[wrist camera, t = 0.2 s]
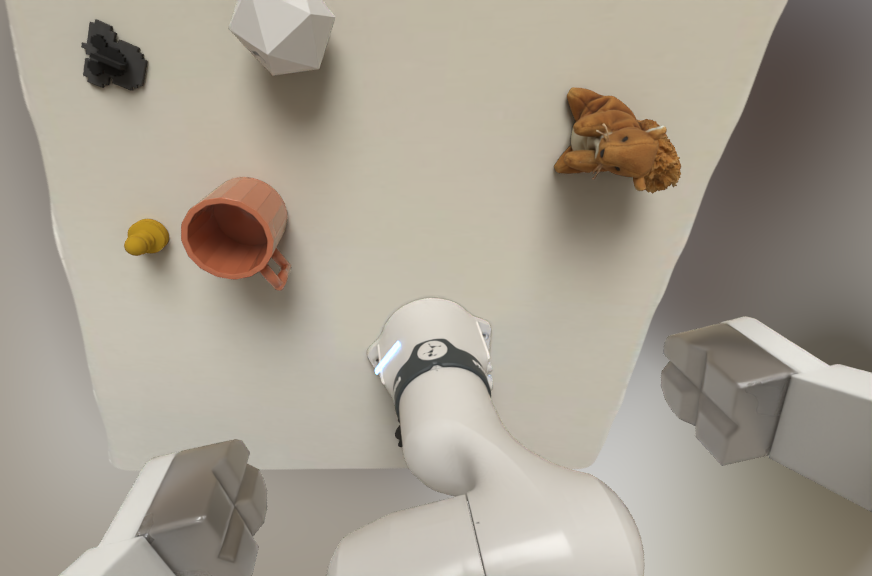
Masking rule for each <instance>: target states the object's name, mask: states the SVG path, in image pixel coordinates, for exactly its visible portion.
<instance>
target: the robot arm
mask: <svg viewBox="0 0 872 576" xmlns="http://www.w3.org/2000/svg"><path fill="white" fill-rule="evenodd" d="M482 334H484V335H482ZM490 337H491V327H490V323H489V322H488V321H486V320H484V319H481V318H478V317H475V316H472V315H471V314H470V313H468V312H467V311H466V310H465V309H464V308H463V307H461V306H460V305H458V304H456V303H454V302H452V301H449V300H446V299H441V298H425V299H420V300H416V301H413V302H411V303H408V304H406V305H404V306H403V307H401V308H400V309H398V310H397V311H396V312H395V313H394V314H393V315H392V316H391V317H390V318H389V319H388V321H387V322H386V324H385V326H384V328H383V331H382V333H381V335H380V337H379V338H378V339H377V340H376V341H375V342H374V343H373V344H372V345H371V346H370V347H369V348H368V350H367V356H368V359H369V361H370V362H371V364H372V366H373V367H374V369H375V374H378V376H379V377H380V379H381V381H382V384H384V386H385V388H386V389H387V391H388V393H389V394H390V396H391V398H392V399H393V401H394V406H395V410H396V414H397V416H398V421H399V423H400V425H399V427H398V428H397V430H396V432H395V436H396V438H397V439H399V443H398V446H399V447H403V455H404V459H405V462H406V464H407V466H408V468H409V469H410V471H411V472H412V473H413V475H414V476H416V477H417V478H418V479H419V480H420V481H421V482H422V483H424V484H425V485H426V486H428V487H429V488H431V489H433V490H435V491H437V492H440V493H444V494H447V495H451V496H455V497H452V498H448V499H444V500H440V501H436V502H432V503H428V504H424V505H420V506H416V507H412V508H408V509H404V510H400V511H396V512H393V513H390V514H388V515H386V516H384V517H382V518H380V519H378V520H375V521H373V522H371V523H369V524H367V525H365V526H363V527H361V528H359V529H357V530H355V531H353V532H351V533H350V534H348V535H346V536H345V537H344V538H343V539H342V540H341V542H340V544H339V545H338V547H337V548H336V550H335V552H334V554H333V556H332V559H331V562H330V564H329V567H328V570H327V574H326V576H484V574H485V576H644V551H643V545H642V541H641V537H640V534H639V531H638V528H637V526H636V523H635V521H634V519H633V517H632V515H631V514H630V512H629V510H628V508H627V507H626V505H625V504H624V503H623V501H622V500H621V499H620V498H619V497H618V495H617V494H616V493H615V492H614V491H613V490H612V489H611V488H609V487H608V486H607V485H606V484H605V483H603V482H602V481H601V480H599V479H598V478H596V477H594V476H593V475H591V474H588V473H584V472H579V471H575V470H572V469H568V468H565V467H562V466H560V465H557V464H555V463H552V462H550V461H548V460H546V459H544V458H542V457H540V456H538V455H537V454H535V453H533V452H532V451H530V450H529V449H527V448H526V447H525V446H523V445H522V444H521V443H519V442H518V441H517V440H516V439H515V438H514V437H513V436H512V435H511V434H510V433H509V432H508V431H507V430H506V428H505V427H504V425H503V423H502V421H501V419H500V417H499V415H498V413H497V411H496V409H495V407H494V405H493V403H492V400H491V390H493V381H492V377H491V375H487V372H491V371H492V366H491V363H490V362H488V360H489V359H490V355H489V348H490ZM663 354H664V355H665V356H666V357H667V358H668V359H669V360H670V361H669V362H668V364H667V365H666V366H665V368H664V369H663V370H662V373H661V388H662V391H663V394H664V397H665V400H666V402H667V403H668V405H669V407H670V408H671V410H672V411H673V412H674V413H675V414H676V416H677V417H678V418H679V419H681V420H683V421H685V422H688V423H690V424H692V425H694V426H696V428H695V429H696V438H697V439H698V440H699V441H700V442H701V443H702V445H703V446H704V447H705V448H706V449H707V450H708V451H709V452H710V453H711V454H712V455H713V457H714V458H715V459H716V460H717V461H718V462H719V463H720V464H721V465H722V466H723V465H727V464H732V463H736V462H741V461H746V460H750V459H755V458H759V457H764V456H768V455H769V458H770V459H772V460H774V461H776V462H777V463H779V464H782V465H783V466H785V467H787V468H789V469H791V470H793V471H795V472H796V473H798V474H800V475H802V476H804V477H806V478H808V479H810V480H812V481H814V482H816V483H817V484H819V485H821V486H823V487H825V488H827V489H829V490H831V491H833V492H835V493H836V494H838V495H840V496H842V497H844V498H846V499H848V500H850V501H852V502H853V503H856V504H857V505H859V506H861V507H863V508H865V509H867V510H869V511H871V512H872V373H870V372H866V371H863V370H859V369H855V368H851V367H847V366H844V365H840V364H836V365H832V366H829V365H827V364H826V363H824V362H822V361H821V360H819V359H818V358H816V357H814V356H813V355H811V354H810V353H808V352H807V351H805V350H804V349H802V348H800V347H799V346H797V345H796V344H794V343H792V342H791V341H789V340H788V339H786V338H785V337H783V336H781V335H780V334H778V333H777V332H775V331H773V330H772V329H770V328H769V327H767V326H766V325H764V324H762V323H761V322H759V321H758V320H756V319H754V318H750V317H745V316H744V317H740V318H736V319H733V320H729V321H725V322H721V323H719V324H715V325H711V326H707V327H703V328H699V329H694V330H691V331H686V332H682V333H678V334H675V335H670V336H668V337H667V339H666V341H665V343H664V350H663ZM378 358H379V360H376V359H378ZM249 454H250V452H249V451H248V449H247V447H246V446H245V444H244V443H243V441H242V440H237V439H234V440H230V441H225V442H220V443H216V444H211V445H206V446H202V447H197V448H192V449H188V450H183V451H181V452H177V453H172V454H167V455H162V456H158V457H154V458H152V459H151V460H149V461H148V462H147V463H145V465H144V466H143V468H142V470H141V472H140V474H139V475H138V477H137V479H136V481H135V483H134V484H133V486H132V488H131V490H130V491H129V493H128V495H127V497H126V498H125V500H124V502H123V504H122V505H121V508H120V509H119V511H118V513H117V514H116V516H115V518H114V520H113V522H112V523H111V525H110V527H109V529H108V530H107V532H106V534H105V536H104V538H103V539H102V541H101V543H100V544H99V546H98V547H95V548H91V549H88V550H87V551H86V552H85V553H83V554H82V555H81V556H80V557H79V558H78V559H77V560H76V561H74V562H73V563H72V564H71V565H70V566H69V567H68V568H67V569H66V570H65V571H63V572H62V573H61V574H60V575H59V576H252V574H253V570H254V566H255V561H256V557H257V553H258V548H259V546H258V545H257V543H256V541H255V540H254V538H253V536H254V535H255V533H256V532H257V531H258V530H259V528H260V527H261V526H262V524H263V523H264V520H265V516H266V511H267V489H266V485H265V481H264V478H263V476H262V474H261V472H260V470H259V469H257V468H255V467H253V466H251V465H249V464H247V461H248V458H249ZM467 501H468V504H469V508H470V512H469V508H468V504H467ZM470 513H471V516H470ZM471 517H472V521H471ZM472 522H473V525H472ZM473 526H474V529H473ZM474 530H475V533H474ZM475 535H476V538H475ZM476 540H477V542H476ZM477 544H478V546H477ZM478 548H479V551H478ZM479 553H480V555H479ZM480 557H481V559H480ZM481 561H482V564H481ZM482 566H483V568H482ZM483 570H484V572H483Z"/></svg>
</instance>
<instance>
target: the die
mask: <svg viewBox="0 0 872 576" xmlns="http://www.w3.org/2000/svg"><path fill="white" fill-rule="evenodd" d="M334 20H335V16H334V15H333V13H332V12H331V11H330V9H329V8H328V6H327V5H326V4H325V2H324V1H323V0H237V3H236V6H235V10H234V13H233V16H232V19H231V23H230V26H229V30H230V31H231V32H232V33H233V34H234V35H235V36H236V37H237V38H238V39H239V40H240V42H241V43H242V44H243V45H244V46H245V47H246V48H247V49H248V50H249V51H250V52H251V53H252V54H253V55H254V56H255V57H256V58H257V60H258V61H259V62H260V63H261V64H262V65H263V66H264V67H265V68H266V69H267V70H268V71H269V72H270V73H271V74H272V75H273V76H274V75H281V74H288V73H295V72H301V71H308V70H315V69H320V65H321V62H322V59H323V56H324V52H325V49H326V46H327V43H328V40H329V36H330V33H331V30H332V27H333V24H334Z"/></svg>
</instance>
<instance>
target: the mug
mask: <svg viewBox="0 0 872 576" xmlns="http://www.w3.org/2000/svg"><path fill="white" fill-rule="evenodd" d="M286 224H287V210H286V206H285V203H284V201H283V199H282V198H281V196H280V195H279V194H278V193H277V191H276V190H275V189H273V188H272V187H271V186H270V185H268V184H267V183H265V182H263V181H260V180H258V179H254V178H249V177H238V178H233V179H231V180H228V181H226V182H224V183H223V184H222V185H220V186H219V187H217V188H216V189H215V190H213V191H212V192H211V193H209V194H208V195H207V196H206V197H204V198H203V199H202V200H201V201H199V202H198V203H197V204H196V205H194V206H193V207H192V208H191V209H190V210H189V211H188V213H187V214H186V216H185V218H184V220H183V222H182V224H181V241H182V243H183V245H184V247H185V250H186V252H187V254H188V256H189V257H190V258H191V259H192V260H193V261H194V262H195V263H196V264H197V265H198V266H199V267H200V268H201V269H203V270H205V271H207V272H209V273H211V274H213V275H214V276H217V277H222V278H228V279H240V278H246V277H251V276H253V275H254V274H256V273H257V272H260V273H261V274H262V275H263V277H264V278H265V279H266V280H267V281H268V282H269V283H270V284H271V285H272V286H273V288H274V289H275V290H277V291H281V290H283V289H284V287H285V284H286V281H287V279H288V276H289V273H290V271H291V264H290V263H289V262H288V261H287V260H286V259H285V257H284V256H283V255H282V254H281V253H280V251H279V250H278V249H277V248H276V247H277V245H278V243H279V241H280V239H281V237H282V235H283V233H284V231H285V229H286ZM271 257H272V259H273V260H274V261H275V262H276V263H277V264H278V266H279V267H280V270H279V273H278V275H276V273H275V272H274V271H273V270H272V269H271V268H270V267H269V266H268V264H267V263H268V261H269V260H270V258H271Z"/></svg>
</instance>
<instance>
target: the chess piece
mask: <svg viewBox="0 0 872 576" xmlns="http://www.w3.org/2000/svg"><path fill="white" fill-rule="evenodd" d="M168 241H169V234H168V231H167V229H166V228H165V227H164V226H163V225H162V224H161V223H159V222H158V221H155V220H152V219H143V220H140V221H138V222H137V223H135V224H133V225H132V226H131V227H130V228H129V230H128V238H127V240H126V241H125V244H124V247H125V250H126V251H127V252H128V253H129V254H131V255H135V256H138V255H142V254H145V253H156V252H159V251H160V250H161V249H162V248H163V247H165V246H166V245H167V243H168Z"/></svg>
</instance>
